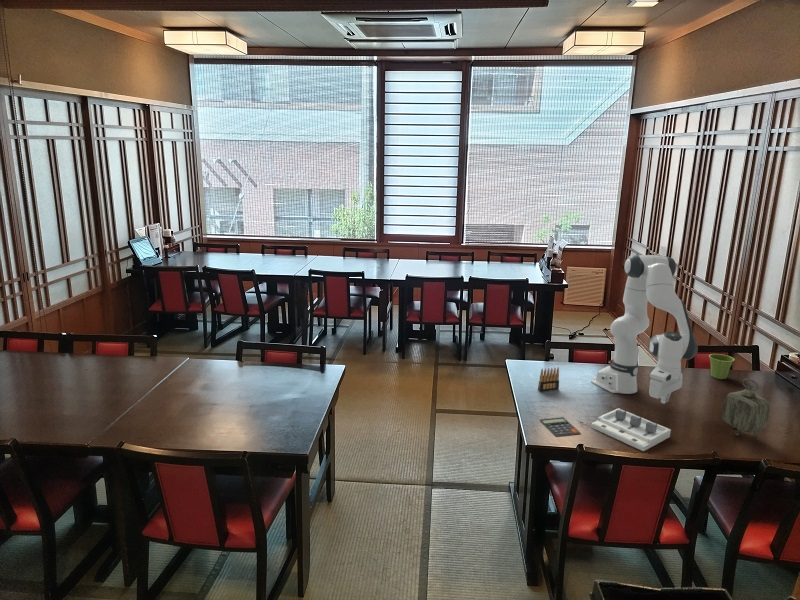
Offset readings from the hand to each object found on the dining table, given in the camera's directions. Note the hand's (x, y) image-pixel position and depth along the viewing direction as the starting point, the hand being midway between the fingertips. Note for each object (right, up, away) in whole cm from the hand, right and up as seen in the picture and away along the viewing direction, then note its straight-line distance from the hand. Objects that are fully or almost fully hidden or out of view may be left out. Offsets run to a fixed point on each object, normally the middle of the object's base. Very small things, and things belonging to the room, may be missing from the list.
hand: (664, 402), depth 222 cm
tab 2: (-10, -11, +5) cm, 15 cm away
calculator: (-42, -13, +7) cm, 44 cm away
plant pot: (+61, +1, +63) cm, 88 cm away
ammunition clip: (-36, -3, +44) cm, 57 cm away
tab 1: (-14, -9, +10) cm, 20 cm away
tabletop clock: (+33, -14, +3) cm, 36 cm away
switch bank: (-13, -13, +3) cm, 19 cm away
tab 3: (-6, -12, -1) cm, 13 cm away
